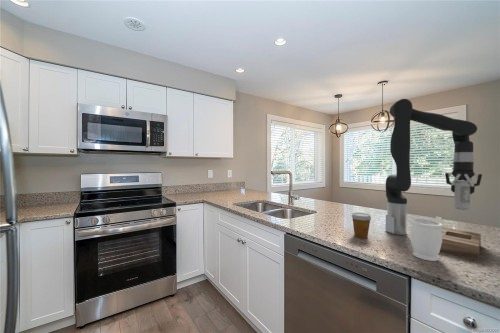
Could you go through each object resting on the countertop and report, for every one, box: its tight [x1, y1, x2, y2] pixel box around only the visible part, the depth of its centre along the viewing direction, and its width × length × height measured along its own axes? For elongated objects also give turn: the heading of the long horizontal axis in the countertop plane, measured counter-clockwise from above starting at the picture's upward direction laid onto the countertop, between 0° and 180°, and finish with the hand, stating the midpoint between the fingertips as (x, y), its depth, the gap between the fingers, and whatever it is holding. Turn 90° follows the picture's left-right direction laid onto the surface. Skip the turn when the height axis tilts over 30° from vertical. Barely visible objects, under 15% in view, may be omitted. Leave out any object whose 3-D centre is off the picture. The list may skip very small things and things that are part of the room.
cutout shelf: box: [439, 226, 482, 261], centre depth 100 cm, size 24×14×6 cm, turn 131°
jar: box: [409, 218, 443, 262], centre depth 90 cm, size 11×10×15 cm
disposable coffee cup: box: [351, 212, 372, 239], centre depth 115 cm, size 10×10×12 cm
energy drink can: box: [453, 180, 472, 211], centre depth 112 cm, size 6×6×15 cm
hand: (462, 192), depth 112 cm, fingers closed on energy drink can, 6 cm apart
